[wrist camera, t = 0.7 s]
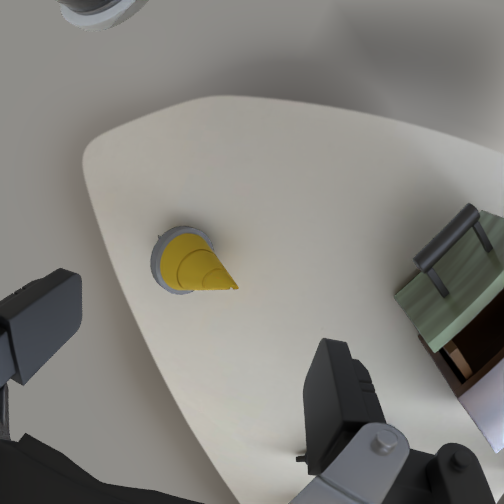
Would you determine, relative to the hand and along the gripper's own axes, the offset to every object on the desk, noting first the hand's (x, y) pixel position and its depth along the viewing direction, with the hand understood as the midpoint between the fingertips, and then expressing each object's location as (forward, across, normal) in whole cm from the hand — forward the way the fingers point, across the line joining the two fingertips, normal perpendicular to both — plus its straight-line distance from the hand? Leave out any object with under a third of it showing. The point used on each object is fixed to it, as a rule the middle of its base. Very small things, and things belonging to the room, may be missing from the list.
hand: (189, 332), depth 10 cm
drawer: (+16, -21, +1) cm, 27 cm away
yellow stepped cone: (+18, +3, +3) cm, 18 cm away
